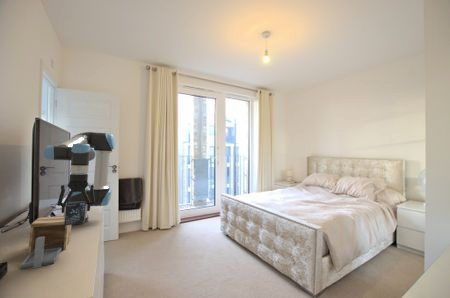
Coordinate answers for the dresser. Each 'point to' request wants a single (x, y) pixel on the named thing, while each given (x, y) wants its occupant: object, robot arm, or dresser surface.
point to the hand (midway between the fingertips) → (75, 218)
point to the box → (75, 213)
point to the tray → (41, 255)
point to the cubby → (49, 231)
